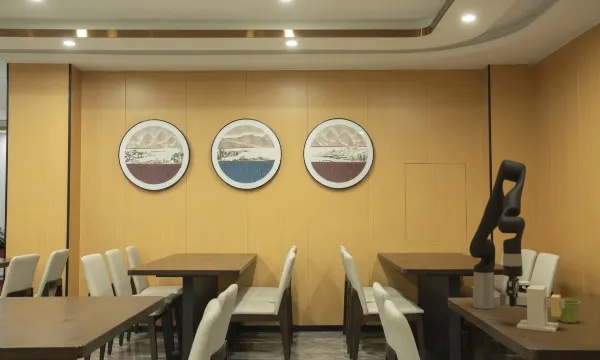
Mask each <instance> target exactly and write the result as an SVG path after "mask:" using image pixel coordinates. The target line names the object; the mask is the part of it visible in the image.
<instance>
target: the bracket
mask: <svg viewBox="0 0 600 360" xmlns="http://www.w3.org/2000/svg"><path fill="white" fill-rule="evenodd" d="M547 296H548V293H547V285H537V284H530V286H529V287H528V288H527V306H526V315H527V316H526V319H521V320H520V322H518V323H517V325H516V329H521V330H532V331H541V332H550V331H551V332H550V333H555V332H556V331H557V330H558V328H559V322H551V321H550V322H548V307H545V303H544V298H547V299H548V297H547Z"/></svg>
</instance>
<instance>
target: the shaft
mask: <svg viewBox="0 0 600 360" xmlns="http://www.w3.org/2000/svg"><path fill="white" fill-rule="evenodd" d="M507 294H508V292H500V293H499V307H507V306H508V305H509V296H508V295H507ZM565 300H566V299H562V298H561V299H560V308H563V309H564V308H565ZM544 303H545V307H547V308H551V298H548V297H547V298H544ZM518 305H527V297H520V296H515V306H518Z"/></svg>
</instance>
